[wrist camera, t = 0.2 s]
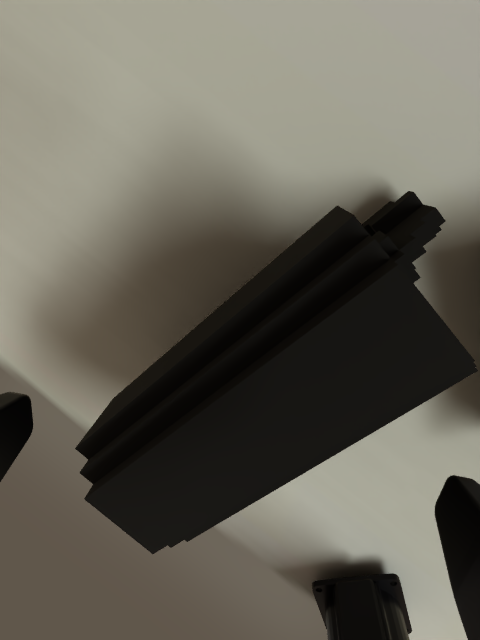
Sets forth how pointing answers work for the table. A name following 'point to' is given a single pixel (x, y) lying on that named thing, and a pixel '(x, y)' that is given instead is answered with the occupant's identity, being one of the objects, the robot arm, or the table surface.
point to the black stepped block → (276, 379)
